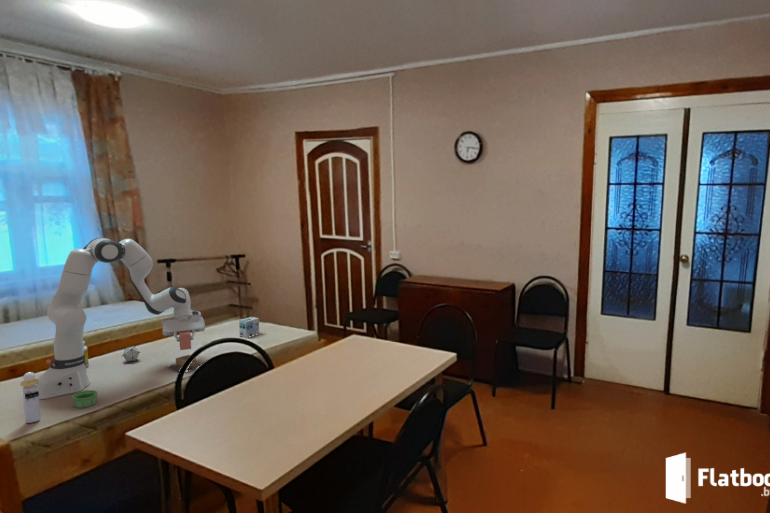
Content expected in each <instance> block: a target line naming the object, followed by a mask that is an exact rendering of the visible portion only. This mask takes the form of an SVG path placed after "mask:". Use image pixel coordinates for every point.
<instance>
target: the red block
mask: <svg viewBox="0 0 770 513" xmlns="http://www.w3.org/2000/svg"><path fill="white" fill-rule="evenodd" d="M178 335H179V336H178V337H180V341H179V350H180V351H184V350H185V351H187V350H192V340H191V336H192V334H191V333H190V331H185V332H179V334H178Z"/></svg>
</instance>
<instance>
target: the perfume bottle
mask: <svg viewBox="0 0 770 513" xmlns="http://www.w3.org/2000/svg"><path fill="white" fill-rule="evenodd" d="M37 383H39V380H38V378H36V374H35V373H34V372H32V371H29V372H26V373H25V374H23V381H21V382H20V383H19V384H20V386H21V387H22V393H23V395H22V396H23V406H24V407H23V408H24V417H25V423H30V424H31V423H35V422H38V421H39V420H40V419H41V412H40V410H41V409H40V399H39V397H38V396H39V391H38V386H37V385H36V384H37Z"/></svg>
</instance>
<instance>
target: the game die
mask: <svg viewBox="0 0 770 513" xmlns="http://www.w3.org/2000/svg"><path fill="white" fill-rule="evenodd" d="M136 346H137V345H134V346H130V347H126V346H124V352H123V355H121V357H123V358H124V359H125V361H126V364H127V363H128V362H132V361H136V362H138V360H139V359H138V357H139V354H140V353H141V351H139V350H138V348H136Z"/></svg>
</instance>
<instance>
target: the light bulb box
mask: <svg viewBox="0 0 770 513" xmlns="http://www.w3.org/2000/svg"><path fill="white" fill-rule="evenodd" d="M238 324H239V337H240V336H242V337H241V338H243V337H249V336H252V335H256V334H259V335H260V318H259V317H255V316H250V317H246V318H242V319H239V323H238ZM256 336H257V335H256ZM249 338H250V337H249Z"/></svg>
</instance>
